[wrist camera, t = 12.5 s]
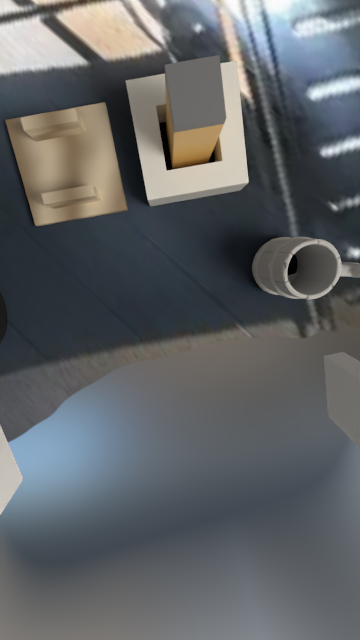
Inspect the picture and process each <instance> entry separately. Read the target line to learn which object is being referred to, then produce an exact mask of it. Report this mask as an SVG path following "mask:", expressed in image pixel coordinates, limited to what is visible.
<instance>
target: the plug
mask: <svg viewBox="0 0 360 640" xmlns="http://www.w3.org/2000/svg"><path fill="white" fill-rule="evenodd" d="M165 98H166V132H167V138H168V144H169V151H170V157H171V163H172V169H173V170H174V169H179V168H185V167H190V166H196V165H202V164H207V163H208V161H209V159H210V156H211V154H212V152H213V149H214V147H215V144H216V142H217V140H218V137H219V135H220V132H221V130H222V128H223V125H224V123H225V120H226V110H225V101H224V92H223V83H222V74H221V65H220V56H219V55H217V56H211V57H205V58H200V59H194V60H189V61H183V62H177V63H172V64H166V65H165Z"/></svg>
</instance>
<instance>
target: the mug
mask: <svg viewBox="0 0 360 640" xmlns="http://www.w3.org/2000/svg"><path fill="white" fill-rule="evenodd" d="M294 254H295V256H296V257H297V262H298V266H297V271H296V273H295V274H291V275H288V276H287V270H288V265H289V262H290V260H291V258H292V256H293V255H294ZM252 273H253V276H254V279H255V281H256V283H257V284H258V285H259V287H260V288H261V289H262V290H264V291H266V292H268V293H271V294H275V295H282V296H285V297H288V298H293V299H299V298H303V299H316V298H319V297H321V296H323V295H325V294H326V293H328V292H329V291H330V290H331V289H332V288H333V287H332V286H334V285H335V284H336V282H337V281H338V279H339V276H350V277H360V264H359V263H351V262H341V259H340V255H339V254H338V252H337V250H336V249H335V248H334V246H333V245H332V244H330V243H329V242H327V241H325V240H321V239H312V238H308V237H296V238H289V237H279V238H275V239H271V240H270V241H268V242H266V243H265V244H264V245H263V246H262V247H261V248H260V249H259V250H258V252H257V253H256V254H255V256H254V259H253V263H252Z"/></svg>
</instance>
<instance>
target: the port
mask: <svg viewBox="0 0 360 640" xmlns="http://www.w3.org/2000/svg"><path fill="white" fill-rule="evenodd" d="M220 65H221V74H222V83H223V92H224V101H225V110H226V120H225V123H224V125H223V128H222V130H221V132H220V135H219V137H218V140H217V142H216V144H215V147H214V155H215V162H213V163H207V164H202V165H196V166H190V167H185V168H179V169H174V170H168V171H167V170H166V164H165V158H164V152H163V146H162V140H161V134H160V128H159V123H162V122H166V98H165V74H160V75H154V76H149V77H143V78H138V79H132V80H127V81H126V86H127V91H128V97H129V102H130V107H131V113H132V118H133V124H134V129H135V134H136V140H137V145H138V150H139V156H140V161H141V167H142V172H143V177H144V183H145V188H146V194H147V199H148V202H149V205H150V206H155V205H161V204H166V203H172V202H178V201H183V200H189V199H194V198H200V197H206V196H211V195H217V194H223V193H228V192H234V191H240V190H241V189H242V188H243V187H244V186H245V185H246V184H248V183H249V181H248V171H247V161H246V151H245V141H244V131H243V121H242V111H241V101H240V91H239V81H238V71H237V61H232V62H227V63H221V64H220Z"/></svg>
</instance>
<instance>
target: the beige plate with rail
mask: <svg viewBox="0 0 360 640" xmlns="http://www.w3.org/2000/svg"><path fill="white" fill-rule="evenodd" d="M5 121H6V125H7V128H8V132H9V135H10V139H11V142H12V146H13V149H14V153H15V156H16V160H17V163H18V167H19V170H20V173H21V177H22V180H23V184H24V187H25V191H26V194H27V198H28V201H29V205H30V208H31V212H32V215H33V219H34V222H35V226H42V225H48V224H54V223H59V222H65V221H70V220H76V219H82V218H87V217H93V216H99V215H104V214H110V213H116V212H121V211H127V210H128V209H127V204H126V199H125V194H124V189H123V184H122V180H121V175H120V170H119V165H118V160H117V155H116V150H115V145H114V140H113V136H112V131H111V126H110V121H109V116H108V111H107V106H106V104H105V102H103V103H98V104H92V105H87V106H81V107H75V108H70V109H64V110H59V111H53V112H48V113H42V114H36V115H31V116H25V117H20V118H14V119H9V120H5Z"/></svg>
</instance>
